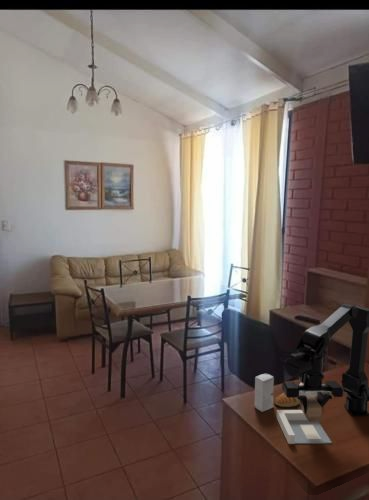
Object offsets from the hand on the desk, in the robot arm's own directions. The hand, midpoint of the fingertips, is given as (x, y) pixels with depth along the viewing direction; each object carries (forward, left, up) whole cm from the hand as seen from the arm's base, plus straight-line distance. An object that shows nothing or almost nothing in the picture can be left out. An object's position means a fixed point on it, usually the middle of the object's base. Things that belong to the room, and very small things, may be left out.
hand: (311, 412), depth 119 cm
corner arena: (+2, -2, -7) cm, 8 cm away
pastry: (+2, -18, -8) cm, 20 cm away
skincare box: (+12, -15, -7) cm, 21 cm away
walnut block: (0, 0, -1) cm, 1 cm away
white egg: (-8, -22, -7) cm, 25 cm away
